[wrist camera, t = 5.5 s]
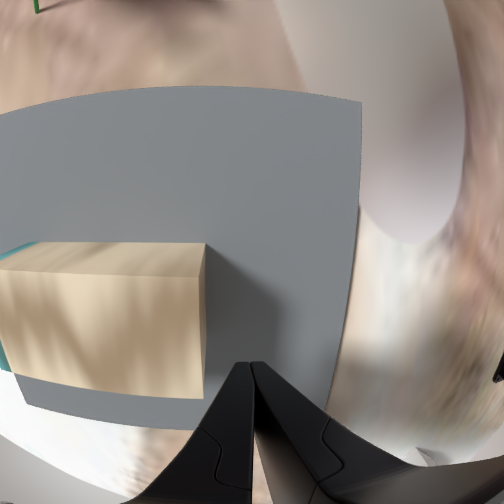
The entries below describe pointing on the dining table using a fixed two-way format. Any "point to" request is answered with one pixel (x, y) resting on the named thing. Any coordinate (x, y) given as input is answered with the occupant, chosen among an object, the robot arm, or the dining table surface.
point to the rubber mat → (200, 219)
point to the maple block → (106, 316)
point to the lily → (36, 6)
